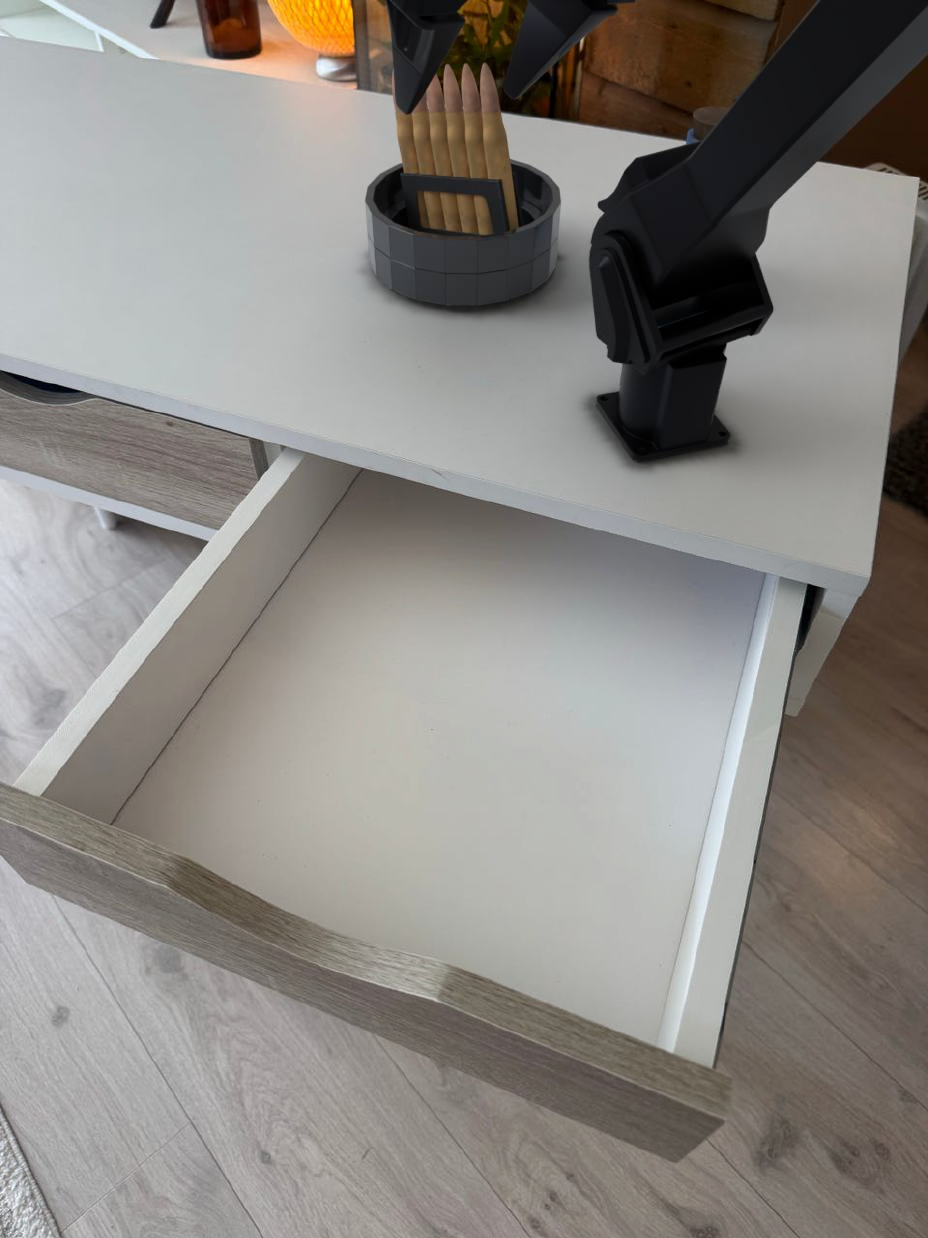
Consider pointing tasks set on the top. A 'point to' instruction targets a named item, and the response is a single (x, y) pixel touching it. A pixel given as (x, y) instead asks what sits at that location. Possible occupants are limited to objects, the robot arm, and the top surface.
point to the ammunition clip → (458, 160)
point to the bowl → (463, 246)
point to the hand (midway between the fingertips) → (458, 102)
